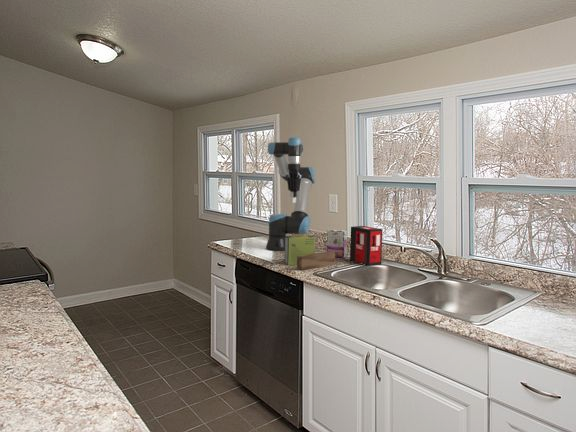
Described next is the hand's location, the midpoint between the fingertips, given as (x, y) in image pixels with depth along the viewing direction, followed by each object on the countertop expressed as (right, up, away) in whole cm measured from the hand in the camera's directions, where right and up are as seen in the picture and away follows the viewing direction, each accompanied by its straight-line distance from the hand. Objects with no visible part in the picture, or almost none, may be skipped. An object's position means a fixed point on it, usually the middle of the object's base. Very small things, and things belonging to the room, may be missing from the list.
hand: (293, 202), depth 263 cm
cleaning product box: (+41, -35, -18) cm, 57 cm away
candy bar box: (+26, -33, -1) cm, 42 cm away
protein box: (+3, -35, -22) cm, 41 cm away
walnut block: (+12, -36, -31) cm, 49 cm away
